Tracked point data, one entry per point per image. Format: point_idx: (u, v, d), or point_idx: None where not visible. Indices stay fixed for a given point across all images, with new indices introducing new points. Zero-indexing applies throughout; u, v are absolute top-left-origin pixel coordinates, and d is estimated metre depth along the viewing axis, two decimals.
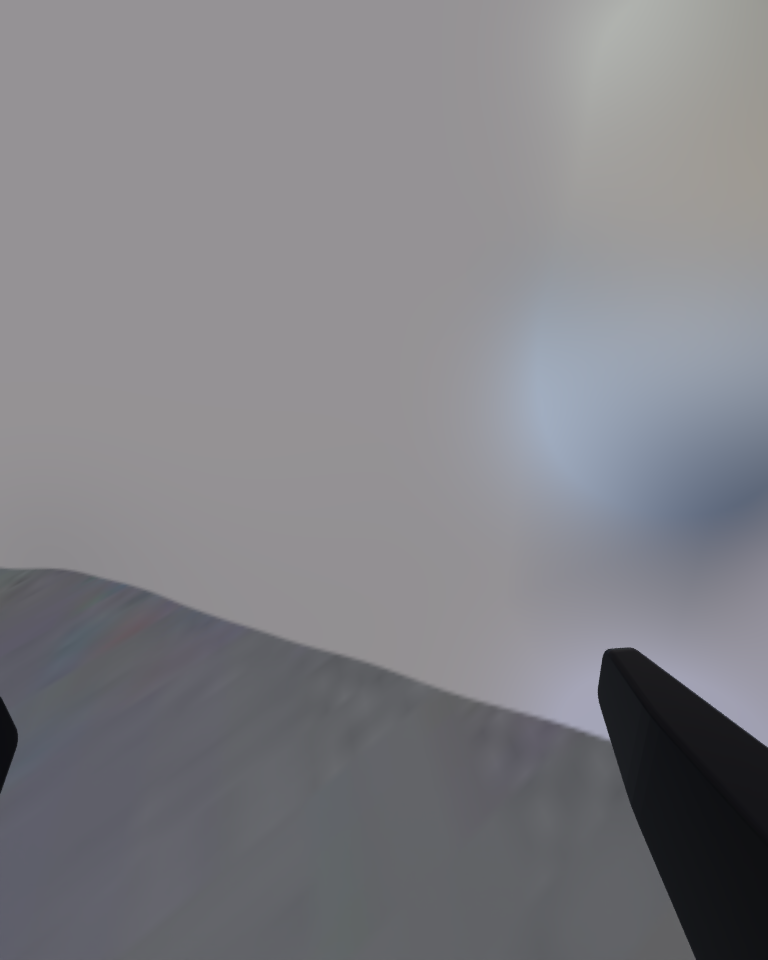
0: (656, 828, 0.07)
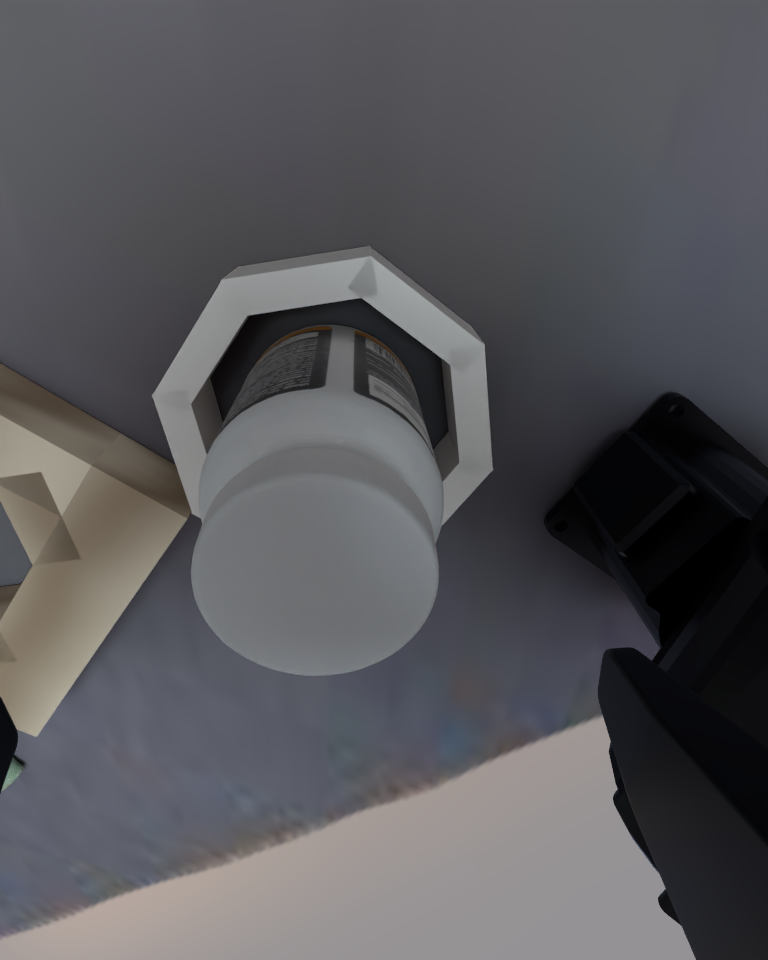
0: (656, 828, 0.07)
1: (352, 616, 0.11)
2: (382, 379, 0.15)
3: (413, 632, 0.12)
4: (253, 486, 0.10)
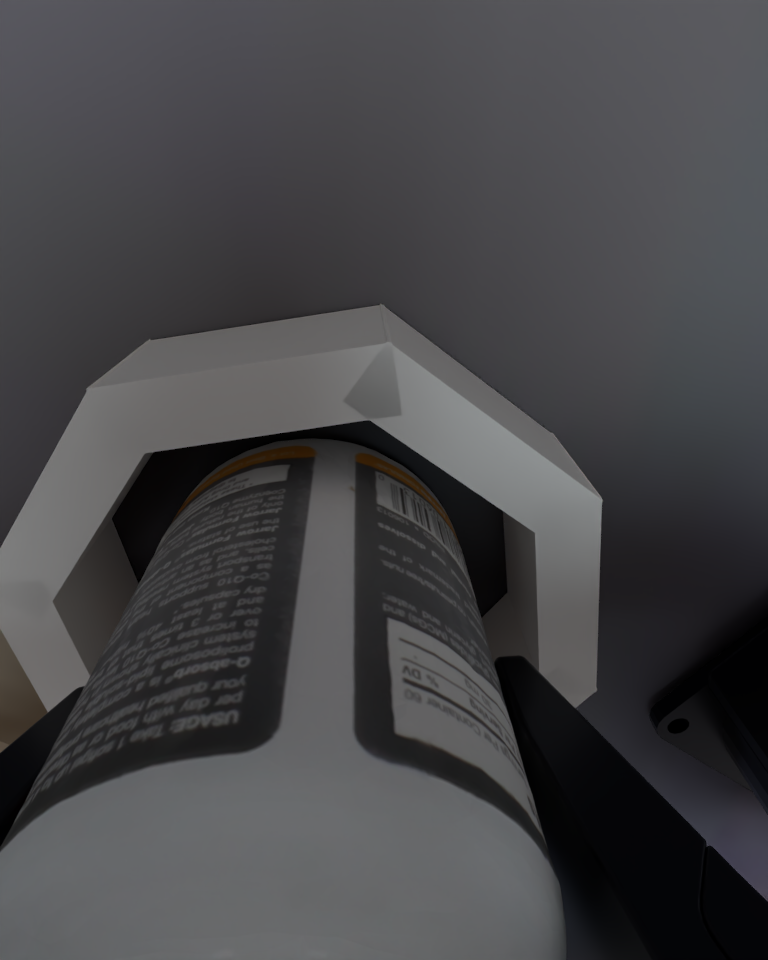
0: None
1: None
2: (416, 620, 0.07)
3: None
4: None
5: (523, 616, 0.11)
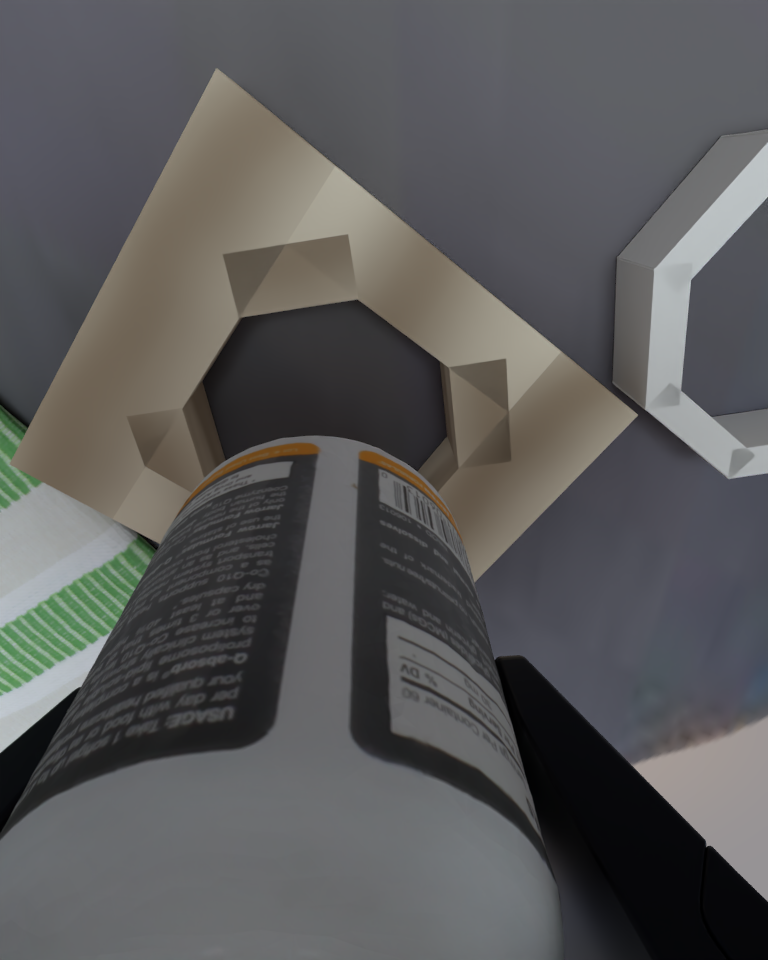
0: None
1: None
2: (416, 618, 0.07)
3: None
4: None
5: None
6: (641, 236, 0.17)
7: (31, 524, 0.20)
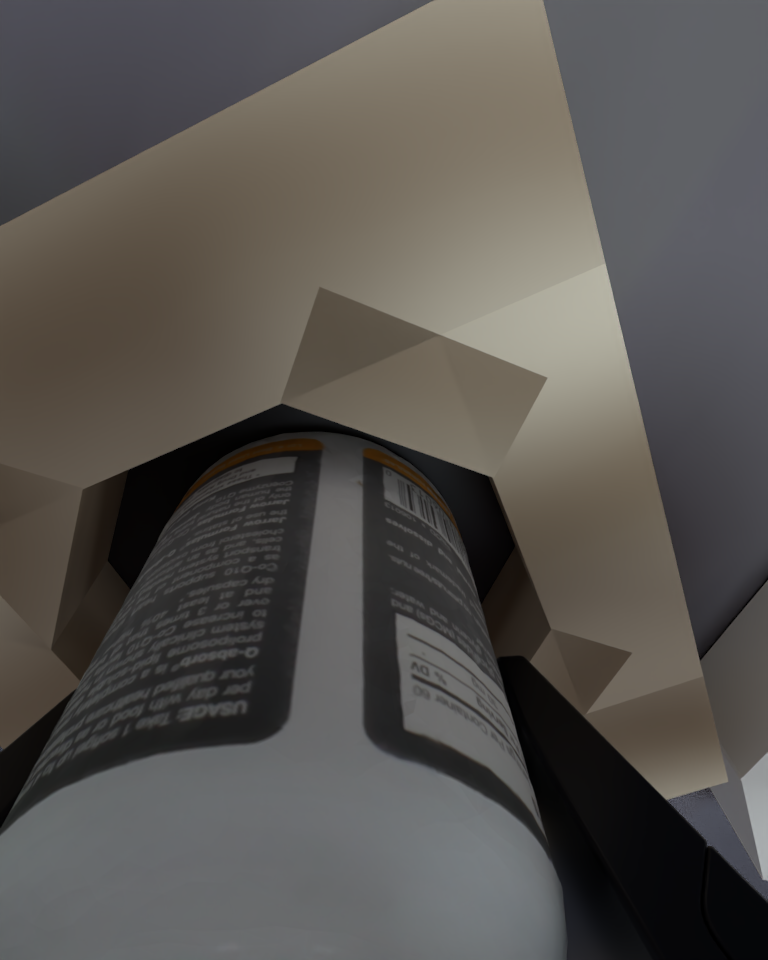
0: None
1: None
2: (424, 617, 0.07)
3: None
4: None
5: None
6: None
7: None
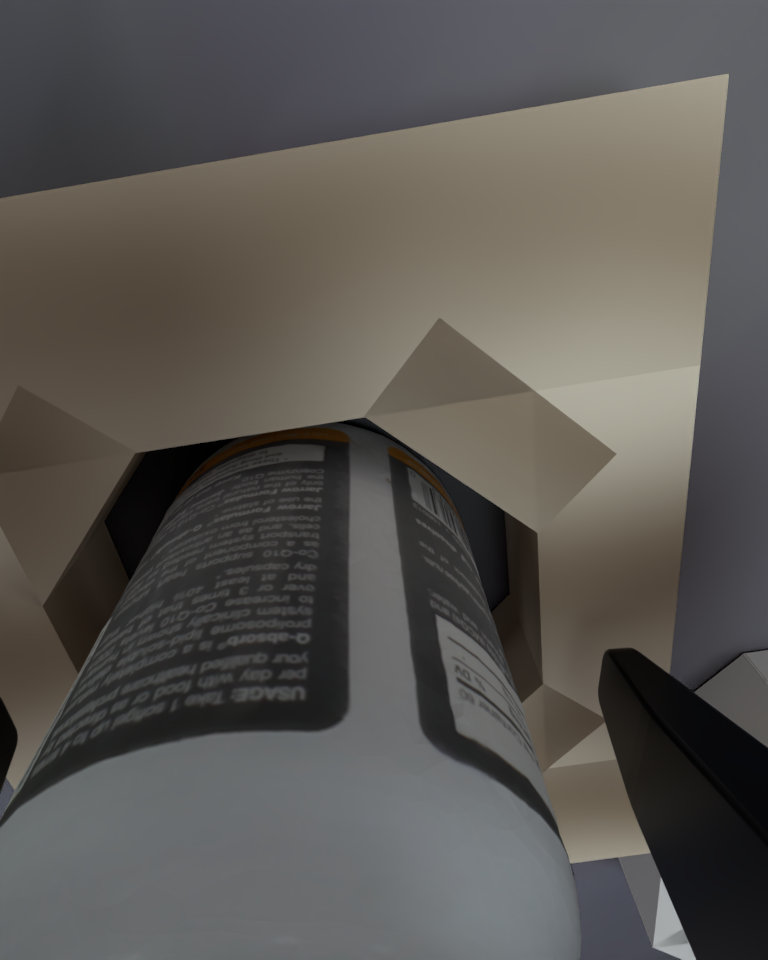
0: (656, 828, 0.07)
1: None
2: (459, 621, 0.07)
3: None
4: None
5: None
6: None
7: None
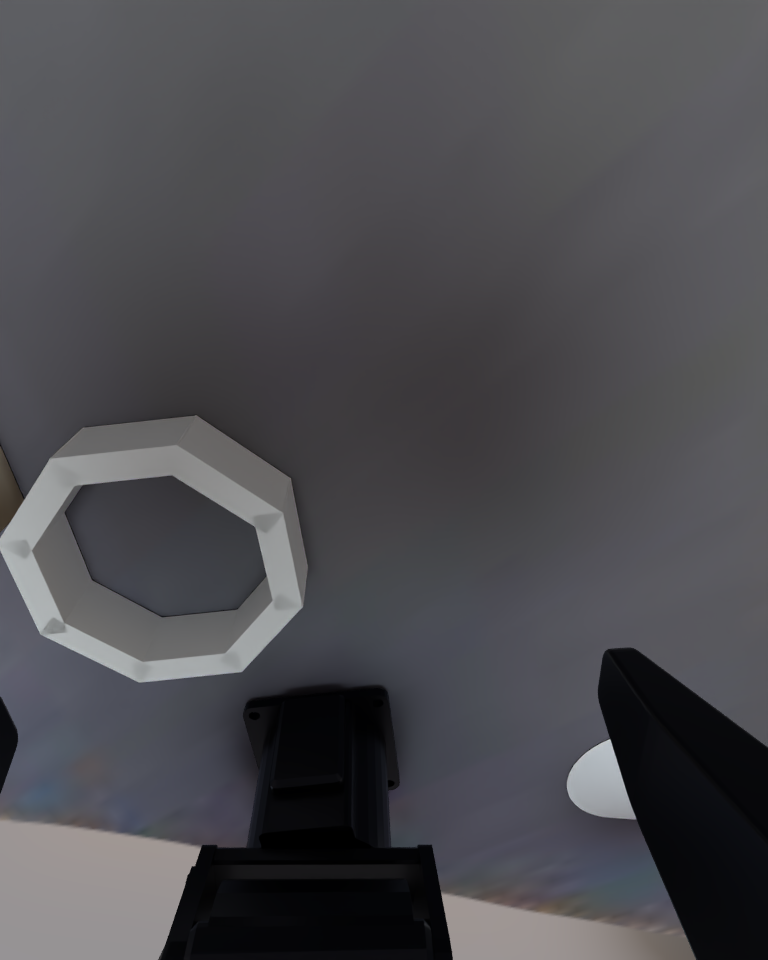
0: (656, 828, 0.07)
1: None
2: None
3: None
4: None
5: (238, 624, 0.23)
6: (101, 429, 0.20)
7: None
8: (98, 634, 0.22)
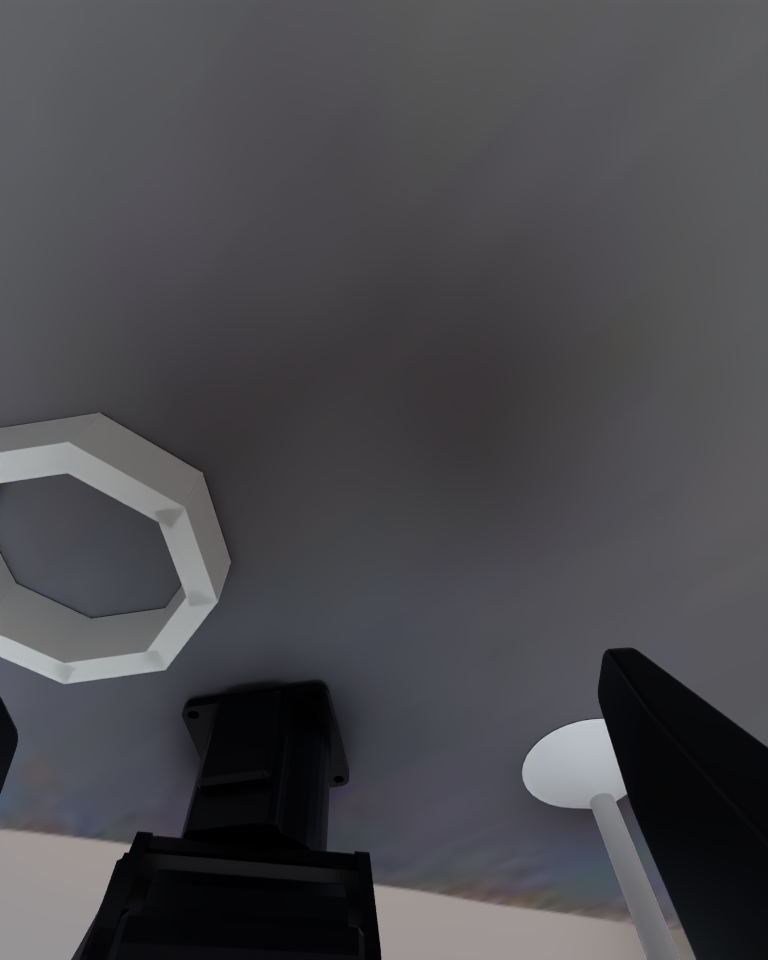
0: (656, 828, 0.07)
1: None
2: None
3: None
4: None
5: (161, 622, 0.23)
6: (4, 430, 0.20)
7: None
8: (17, 637, 0.22)
